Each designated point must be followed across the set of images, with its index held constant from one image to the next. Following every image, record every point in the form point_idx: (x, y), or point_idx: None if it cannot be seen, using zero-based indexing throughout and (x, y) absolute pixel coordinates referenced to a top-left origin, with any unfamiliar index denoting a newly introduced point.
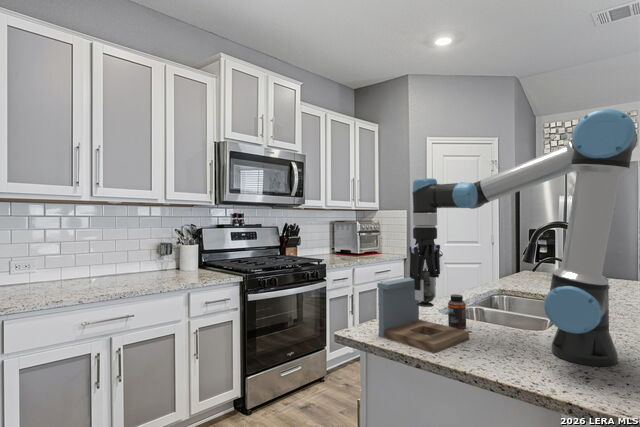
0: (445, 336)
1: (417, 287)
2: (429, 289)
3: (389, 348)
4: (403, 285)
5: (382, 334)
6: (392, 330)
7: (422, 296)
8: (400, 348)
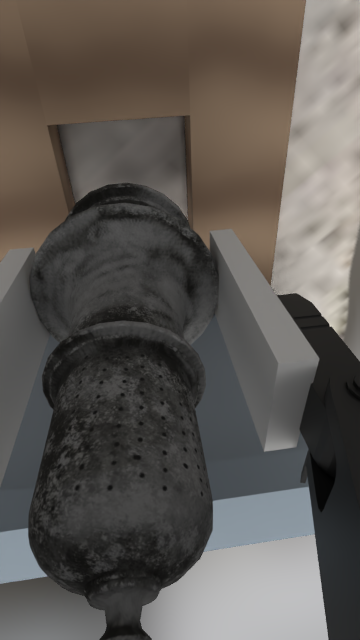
0: (119, 29)
1: (318, 318)
2: (115, 282)
3: (354, 188)
4: (208, 470)
5: None
6: None
7: (237, 245)
8: (327, 158)
